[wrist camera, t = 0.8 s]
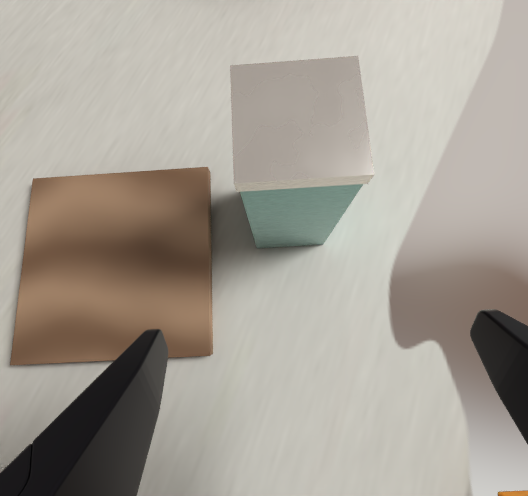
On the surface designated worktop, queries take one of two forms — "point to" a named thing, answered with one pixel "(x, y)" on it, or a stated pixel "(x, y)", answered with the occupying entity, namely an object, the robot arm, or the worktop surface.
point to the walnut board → (115, 266)
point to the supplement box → (513, 493)
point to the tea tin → (298, 146)
